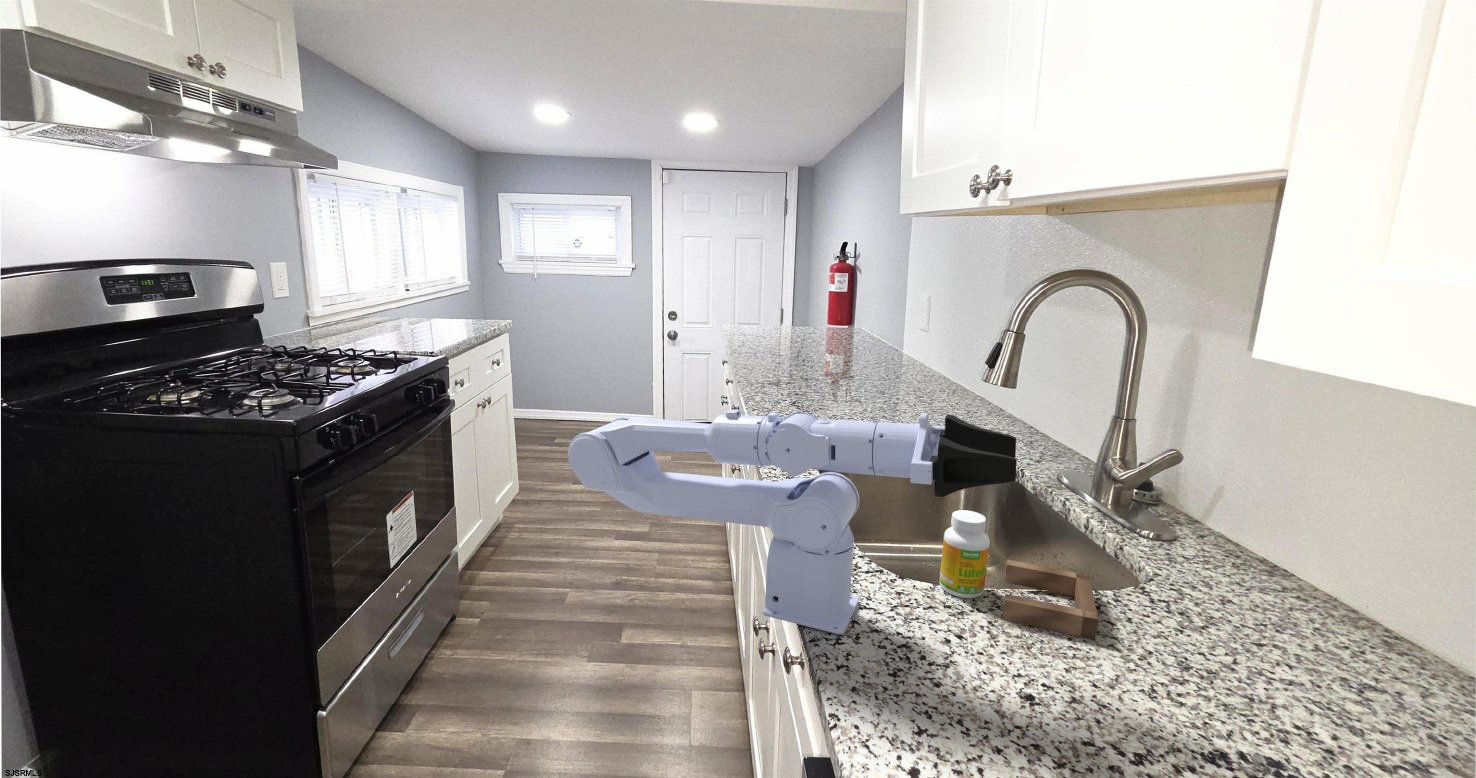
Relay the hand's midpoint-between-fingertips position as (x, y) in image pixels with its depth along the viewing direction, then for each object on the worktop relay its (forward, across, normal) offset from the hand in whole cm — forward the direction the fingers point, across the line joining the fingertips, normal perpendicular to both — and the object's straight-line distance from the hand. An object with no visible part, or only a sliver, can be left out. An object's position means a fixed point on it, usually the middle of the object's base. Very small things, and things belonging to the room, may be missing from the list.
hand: (1016, 458), depth 65 cm
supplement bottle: (-6, +13, +22) cm, 26 cm away
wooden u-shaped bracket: (+3, +13, +22) cm, 26 cm away
